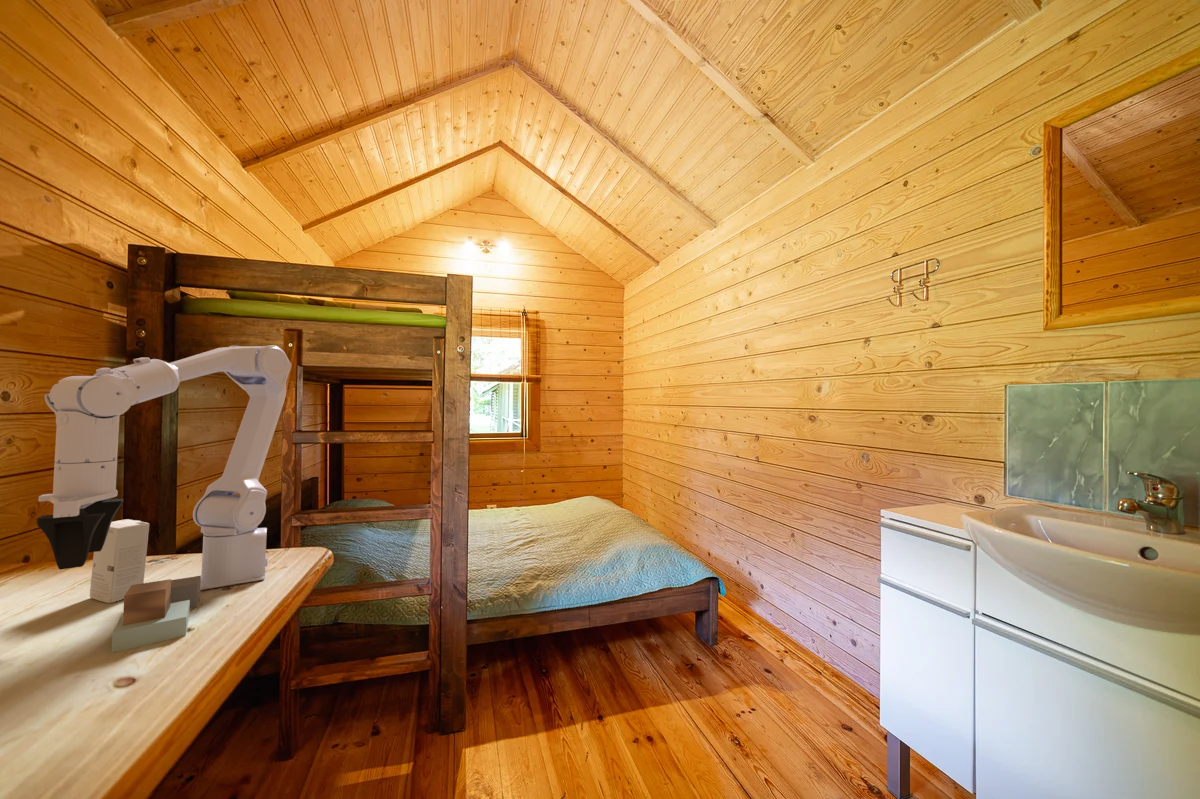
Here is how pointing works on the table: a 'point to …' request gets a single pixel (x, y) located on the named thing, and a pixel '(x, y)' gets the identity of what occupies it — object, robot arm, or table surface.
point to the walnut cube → (146, 602)
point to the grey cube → (186, 590)
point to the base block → (152, 628)
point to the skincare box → (120, 560)
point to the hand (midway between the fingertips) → (81, 559)
